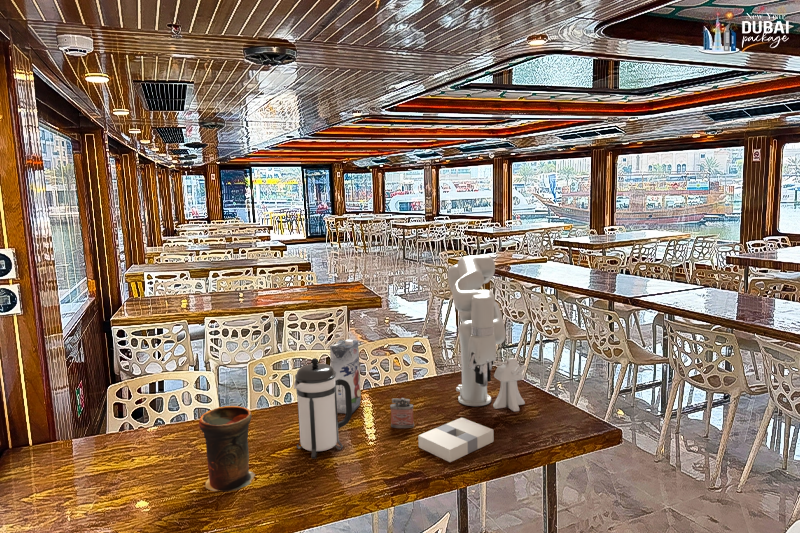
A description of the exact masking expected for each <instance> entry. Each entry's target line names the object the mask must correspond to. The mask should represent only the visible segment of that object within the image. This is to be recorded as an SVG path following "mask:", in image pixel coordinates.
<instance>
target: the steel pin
mask: <svg viewBox="0 0 800 533" xmlns="http://www.w3.org/2000/svg"><path fill="white" fill-rule="evenodd" d="M488 361H489V360H488V359H487V361H486V362H488ZM482 373H483V374H484V383H483V384H482V385H481V384H479V386H482V387H485V386H487V387H488V385H489V384H488V383H489V382H488V377H487V363H486V364H483V367H482Z"/></svg>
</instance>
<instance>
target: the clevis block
mask: <svg viewBox="0 0 800 533" xmlns="http://www.w3.org/2000/svg"><path fill="white" fill-rule="evenodd" d="M417 438H418V439H417V441H418V448H420V449H422V450H423V451H425V452H427V453H430V454H432V455H434V456H436V457H438V458H440V459H443V460H444V461H446V462H448V463H451V462H454V461H456V460H458V459H460V458H462V457H465V456H466V455H468V454H470V453H473V452H475V451H477V450H479V449H481V448H483V447H485V446H487V445H489V444H491V443H493V442H494V439H495V438H494V429H493V428H490V427H488V426H485V425H482V424H481V423H476V422H475V421H472V420H469V419H467V418H465V417H462V416H461V417H460V418H456V419H455V420H452V421H450V422H447V423H444V424H442V425H440V426H438V427H435V428H433V429H430V430H428V431H426V432H423V433H421V434H419V435H418V437H417Z"/></svg>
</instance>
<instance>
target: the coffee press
mask: <svg viewBox="0 0 800 533" xmlns="http://www.w3.org/2000/svg"><path fill="white" fill-rule="evenodd" d="M310 362H311V363H309V364H306V365H303V366H301V367H300V368H298V370H297V371H296V374H295V375H294V383H293V389H294V390H295V389H296V398H297V399H296V400H297V415H298V430H299V432H298V433H299V440H298V442H297V443H298V444H296V449H298V450H300V449H302V448H303V449H305V450H307V451H309V452H311V455H310V456H311V459H312V460H313V459H314V460H315V459H317V458H318V453H319V452H323V451H327V450H330V449H332V448H334V447H335V448H336V449H337V450H338V451H341V450H342V449H343V448H344V447H343V444H342V442H341V441H340V439H339V438H340V437H339V429H340V428H343V427H345V426H346V425H347V424H348V423H349V422H350V420H351V419H352V414H353V413H352V400H351V388H350V385H349V383H348V382H347V381H345V380H342V379H338V380H336V381H335V377H336V372H335V371H334V369H333V368H332V367H331V364H327V363H319V360H318V358H317V357H316V358H315V357H314V358H312V359H311V361H310ZM336 385H343V386H344V388H345V399H346V413H345V416H344V418H343V419H342V420H340V421H338V420H339V419H338V418H339V417H338V413H337V397H336ZM299 444H300V445H301V446H299ZM337 444H338V445H339V446H338V445H337Z"/></svg>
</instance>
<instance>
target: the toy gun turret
mask: <svg viewBox="0 0 800 533" xmlns="http://www.w3.org/2000/svg"><path fill="white" fill-rule="evenodd" d="M493 366H497V368H496V369H495V372H494V374H493V377H494V379H496V380H498V381H499V382H500V388H499V391H498V394H497V397H496V399H495V400H494V402H493V405H492V406H493V408H494V409H497V410H498V409H503V408H508V409H510V410H511V411H512V412H519V411H520V407H519V406H522V405H525V404H526V403H525V402H526V401H525V400H524V399H523V397H522V396H521V393H520V391H519V388H518V381H522V380H523V379H524V378H525V376H524V374H523V371H524V370H525V369H526V367H527V366H526V365H524V364H523V365H522V366H520V364H519V363H518V360H517V359H515V358H514V357H508V358H506V360H505V361H500V362H494V363H493V365H492V367H493Z"/></svg>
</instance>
